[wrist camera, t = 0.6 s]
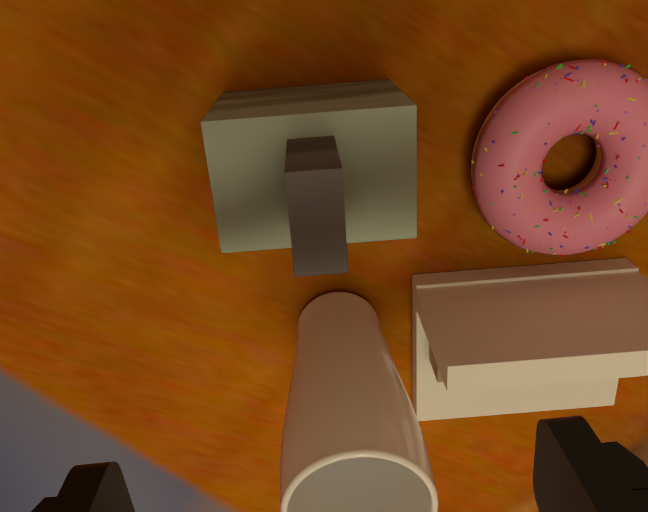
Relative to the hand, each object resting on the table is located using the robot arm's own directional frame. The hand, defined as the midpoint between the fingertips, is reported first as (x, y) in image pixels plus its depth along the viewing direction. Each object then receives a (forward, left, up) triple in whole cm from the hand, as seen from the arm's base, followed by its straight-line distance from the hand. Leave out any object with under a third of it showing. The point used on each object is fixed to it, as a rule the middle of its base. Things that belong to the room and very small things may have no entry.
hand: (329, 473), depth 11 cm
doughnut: (+1, +14, -24) cm, 28 cm away
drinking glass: (+11, +1, -24) cm, 26 cm away
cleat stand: (+13, +13, -24) cm, 30 cm away
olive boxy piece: (-1, 0, -24) cm, 24 cm away
